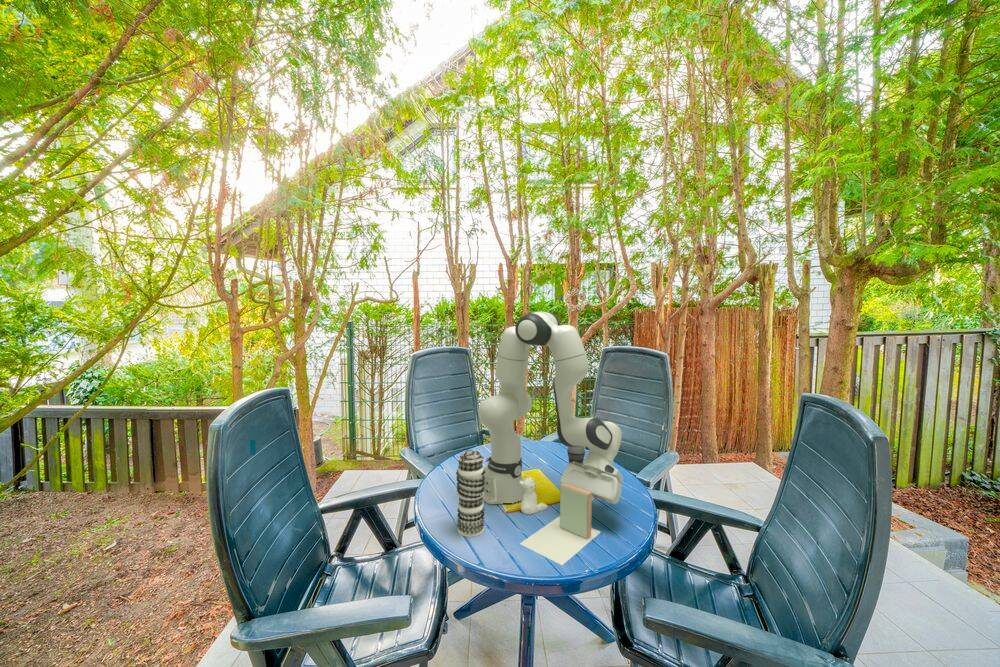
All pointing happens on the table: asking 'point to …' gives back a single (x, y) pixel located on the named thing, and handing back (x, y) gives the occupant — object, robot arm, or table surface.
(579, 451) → the beverage cup
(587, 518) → the tile
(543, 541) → the mat
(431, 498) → the table surface
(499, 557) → the table surface
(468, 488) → the stacked ring tower
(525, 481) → the seated beast figurine
